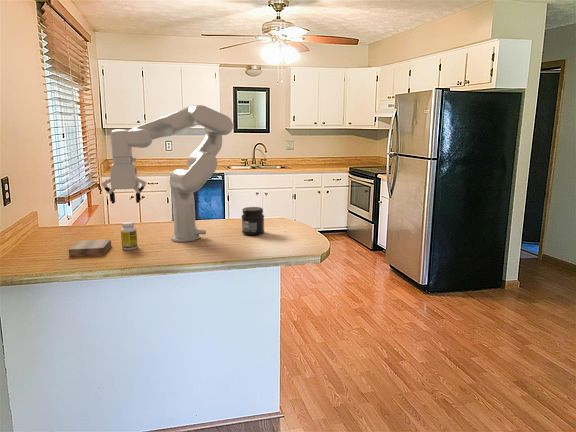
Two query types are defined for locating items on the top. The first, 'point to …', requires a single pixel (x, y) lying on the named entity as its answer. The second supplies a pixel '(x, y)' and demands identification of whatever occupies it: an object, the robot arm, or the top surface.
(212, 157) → the robot arm
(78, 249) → the walnut base
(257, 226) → the supplement container
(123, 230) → the pill bottle
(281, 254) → the top surface
